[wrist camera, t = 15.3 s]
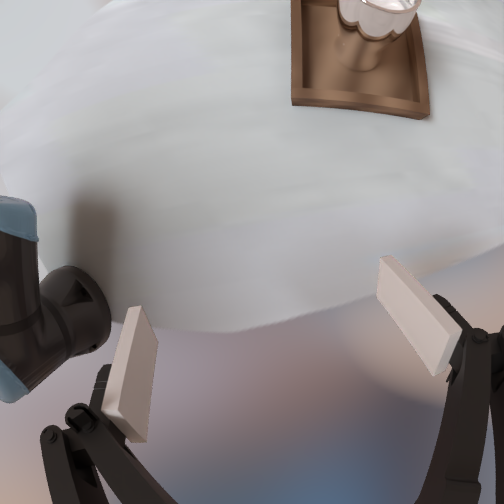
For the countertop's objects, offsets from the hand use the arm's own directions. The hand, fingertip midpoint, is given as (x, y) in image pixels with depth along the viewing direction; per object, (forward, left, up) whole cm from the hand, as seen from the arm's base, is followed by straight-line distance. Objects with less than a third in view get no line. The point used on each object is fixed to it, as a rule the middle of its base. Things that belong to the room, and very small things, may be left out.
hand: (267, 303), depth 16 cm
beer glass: (+8, +24, -20) cm, 32 cm away
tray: (+8, +24, -21) cm, 33 cm away
